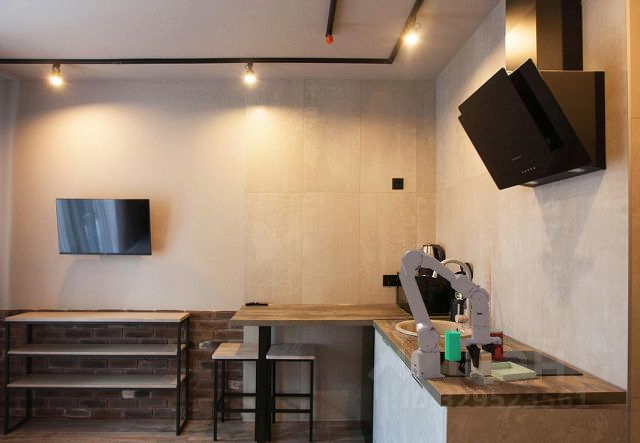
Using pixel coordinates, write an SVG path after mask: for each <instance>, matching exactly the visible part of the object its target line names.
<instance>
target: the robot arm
mask: <svg viewBox="0 0 640 443" xmlns="http://www.w3.org/2000/svg"><path fill="white" fill-rule="evenodd" d="M400 260H401V261H400V268H399V274H398V276H399V280H400V283H401V286H402V290H403V292H404V295H405V297H406V300H407V303H408V305H409V308H410V312H411V313H412V316H413V319H414V323H415V324H416V327H415V328H416V330H415V331H416V334H417V345H418V349H417V350H413V351H412V352H411V355H410V370H411V371H410V374H412V375H414V376H415V377H417V378H419V379H420V380H423V379H424V380H425V379H435V378H444V377H446V376H445V375H444V374H443V373H441V348H440V346H439V345H438V344H439V343H440V341H441V334H440V332H439V331H438V330H437V329H436V328H435V326H434V323H433V322H432V321H431V319H430V316H429V314H428V313H429V312H428V311H427V307H426V305H425V303H424V300H423V297H422V294H421V292H420V289H419V286H418V283H417V280H416V278H415V277H416V275H417V274H418V271H419V269H420V268H422V269H423V268H425V269H431V270H432V271H434V272H435V273H437V274H438V275H440V276H441V277H443V278H444V279H446V281H448V282H449V283H450V286H451V288H452V289H453V290H455V292H457V293H458V294H460V295H461V296H463V297H464V298H465V299H467V300H469V301H470V304H471V313H470V314H471V337H467V338H464V339H463V338H461V339H460V345H461V347H463V348H464V347H465V348H466V350H467V352H468V355H470V361H471V360H472V364H473V367H475V368H479V355H480V351H481V349H482V350H484V351H487V352H489V353H491V356H493V353H494V352H495V350H496V346H495V345H494V344H501V338H499V337H490V328H491V320H490V319H491V317H490V314H491V313H490V299H491V298H490V294H489V292H488V290H487V289H485V288H484V287H481V285H480V284H479V283H478V284H476V283H475V282H473V281H472V280H471V279H470V278H469V276H468V275H467V274H465V275H464V274H462V273H460V274H457V273H455V272H454V271H452V270H451V269H450V268H449V267H447V266H446V265H445V264H443V263H442V262H440V260H439V259H437V258H435V257H434V255H431V254H429V253H428V252H425V251H424V250H423V249H420V248H415V249H413V248H412V249H409V250H407V251H406V252H405V253H404V254H403V255H402V257H401V258H400ZM479 346H481V347H479Z"/></svg>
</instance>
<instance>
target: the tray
mask: <svg viewBox="0 0 640 443" xmlns="http://www.w3.org/2000/svg"><path fill="white" fill-rule="evenodd" d="M491 368H492V375H490V376H492V377H494V378H496V379H498V380H500V381H502V382H507V381H508V382H509V381H517V380H525V379H527V380H528V379H534V378H535V379H537V372H536V371H535V370H533V369H530V368H527V367H525V366H522V365H520V364H516V363H514V362H512V361H503V362H501V361H500V362H491Z"/></svg>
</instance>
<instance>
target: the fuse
mask: <svg viewBox="0 0 640 443" xmlns="http://www.w3.org/2000/svg"><path fill="white" fill-rule="evenodd" d="M492 361H493V360H492V356H491V353H489V352H487V351H484V350H482V348H481V351H480V355H479V368H475V367H473V364H472V360H471V359H470V365H471V366H470V370H471V371H470V372H475V373H477V374H479V376H480V375H482V376H485V377H486V376H491V375H492V368H491V363H492Z"/></svg>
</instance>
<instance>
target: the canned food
mask: <svg viewBox="0 0 640 443" xmlns="http://www.w3.org/2000/svg"><path fill="white" fill-rule="evenodd" d="M490 337H499V338H501V344H494V345H495V346H496V350H495V352H494V353H493V356H492V360H491V361H501V360H503V358H504V331H503V330H502V329H501V328H500V329H499V328H495V327H494V328H493V327H490Z"/></svg>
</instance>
